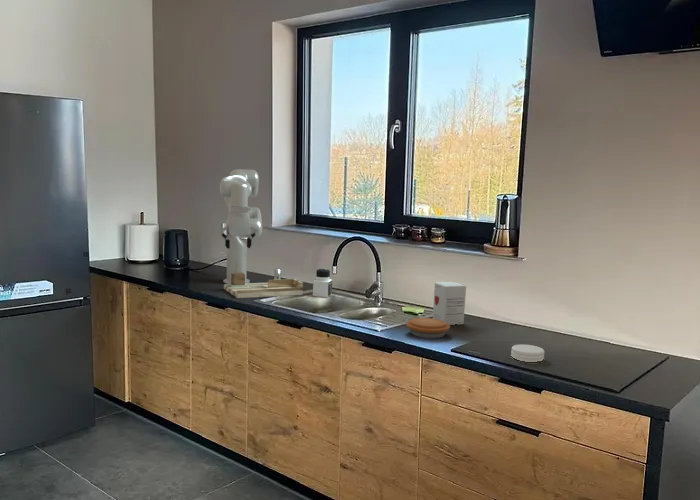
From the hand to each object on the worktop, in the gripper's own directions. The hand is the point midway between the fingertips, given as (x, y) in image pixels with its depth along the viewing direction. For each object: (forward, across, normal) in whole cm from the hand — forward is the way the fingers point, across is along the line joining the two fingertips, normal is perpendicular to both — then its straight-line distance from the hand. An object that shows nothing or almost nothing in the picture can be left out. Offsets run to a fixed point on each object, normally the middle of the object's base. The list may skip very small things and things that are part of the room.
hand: (238, 247), depth 282 cm
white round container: (+16, -55, +130) cm, 142 cm away
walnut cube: (+17, 0, +2) cm, 17 cm away
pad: (+17, 0, +1) cm, 17 cm away
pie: (+17, -41, +95) cm, 105 cm away
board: (+19, -10, +7) cm, 23 cm away
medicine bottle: (+19, -33, +22) cm, 44 cm away
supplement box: (+18, -59, +82) cm, 103 cm away
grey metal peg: (+18, -19, +1) cm, 26 cm away
